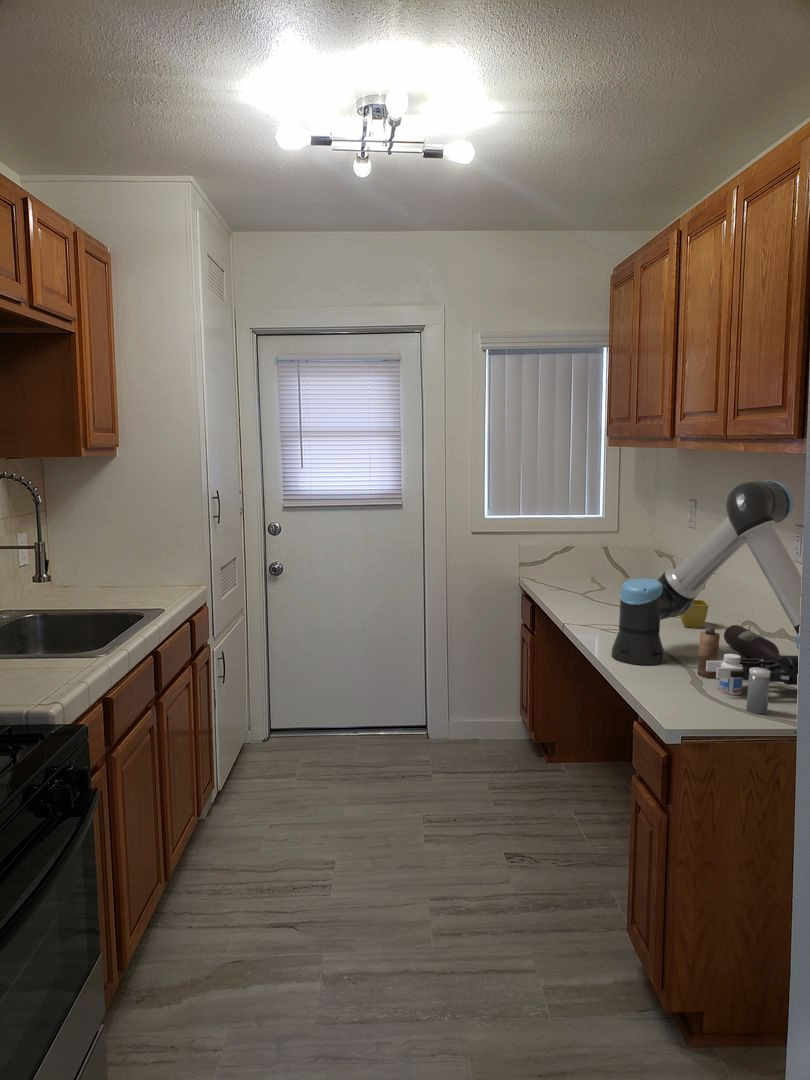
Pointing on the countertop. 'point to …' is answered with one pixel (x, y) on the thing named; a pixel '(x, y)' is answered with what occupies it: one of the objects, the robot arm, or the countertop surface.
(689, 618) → the flower pot
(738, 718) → the countertop surface
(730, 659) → the pill bottle
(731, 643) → the wine bottle
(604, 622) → the countertop surface
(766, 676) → the charcoal salt shaker
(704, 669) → the walnut pepper mill
